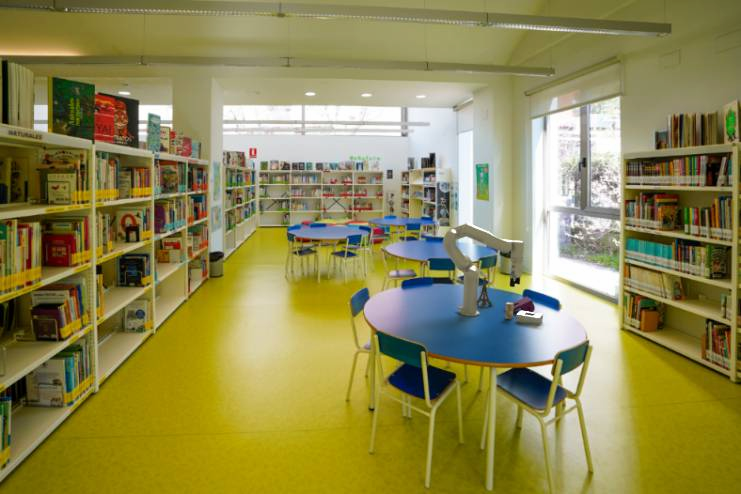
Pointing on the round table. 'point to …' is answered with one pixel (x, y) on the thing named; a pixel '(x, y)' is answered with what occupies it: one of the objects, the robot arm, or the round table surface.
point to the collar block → (529, 318)
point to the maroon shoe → (524, 305)
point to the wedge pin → (509, 310)
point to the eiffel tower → (484, 292)
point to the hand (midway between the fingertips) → (514, 285)
